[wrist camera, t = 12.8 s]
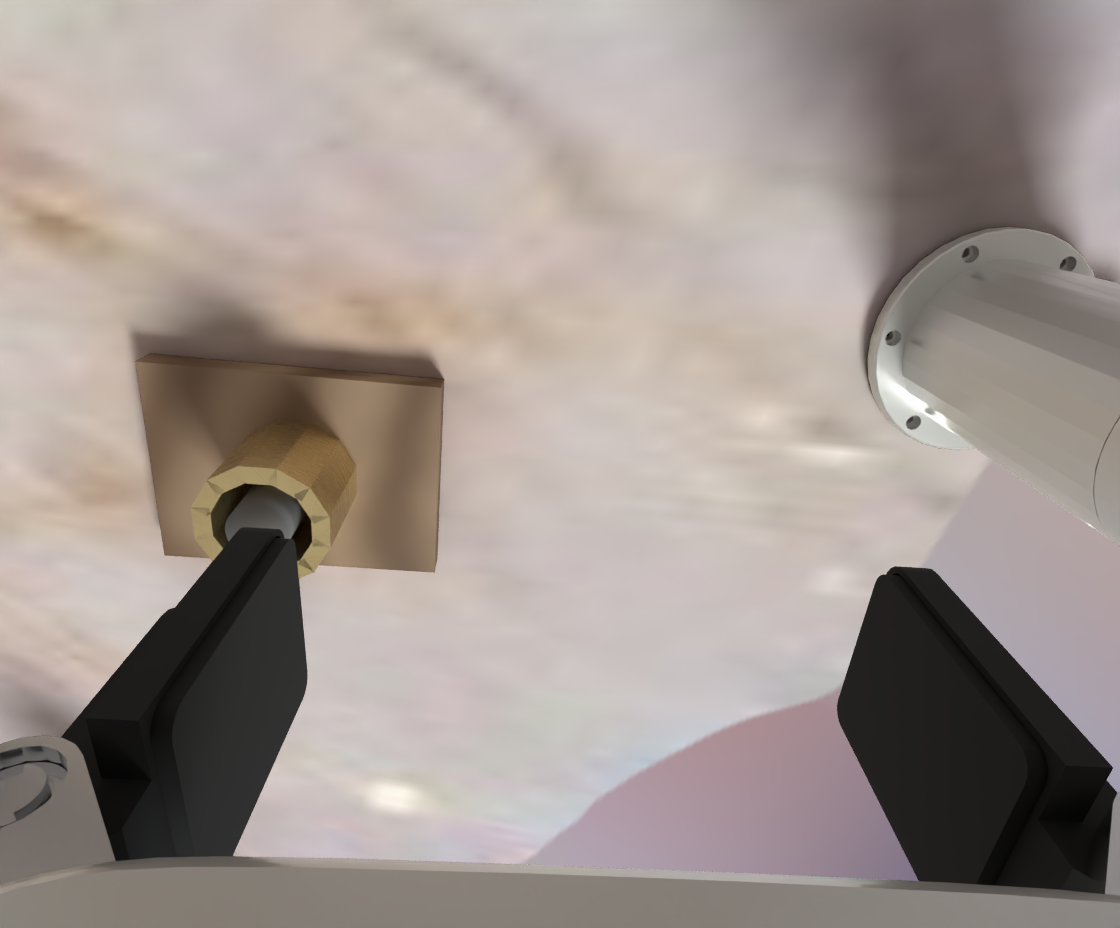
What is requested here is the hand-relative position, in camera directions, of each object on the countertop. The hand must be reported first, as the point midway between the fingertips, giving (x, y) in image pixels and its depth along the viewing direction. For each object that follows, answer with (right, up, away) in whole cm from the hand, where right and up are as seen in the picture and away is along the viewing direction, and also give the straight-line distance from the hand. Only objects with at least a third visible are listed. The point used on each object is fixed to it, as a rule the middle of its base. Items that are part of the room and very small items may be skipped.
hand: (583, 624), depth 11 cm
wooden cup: (-15, +2, +29) cm, 32 cm away
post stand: (-15, +3, +30) cm, 34 cm away
